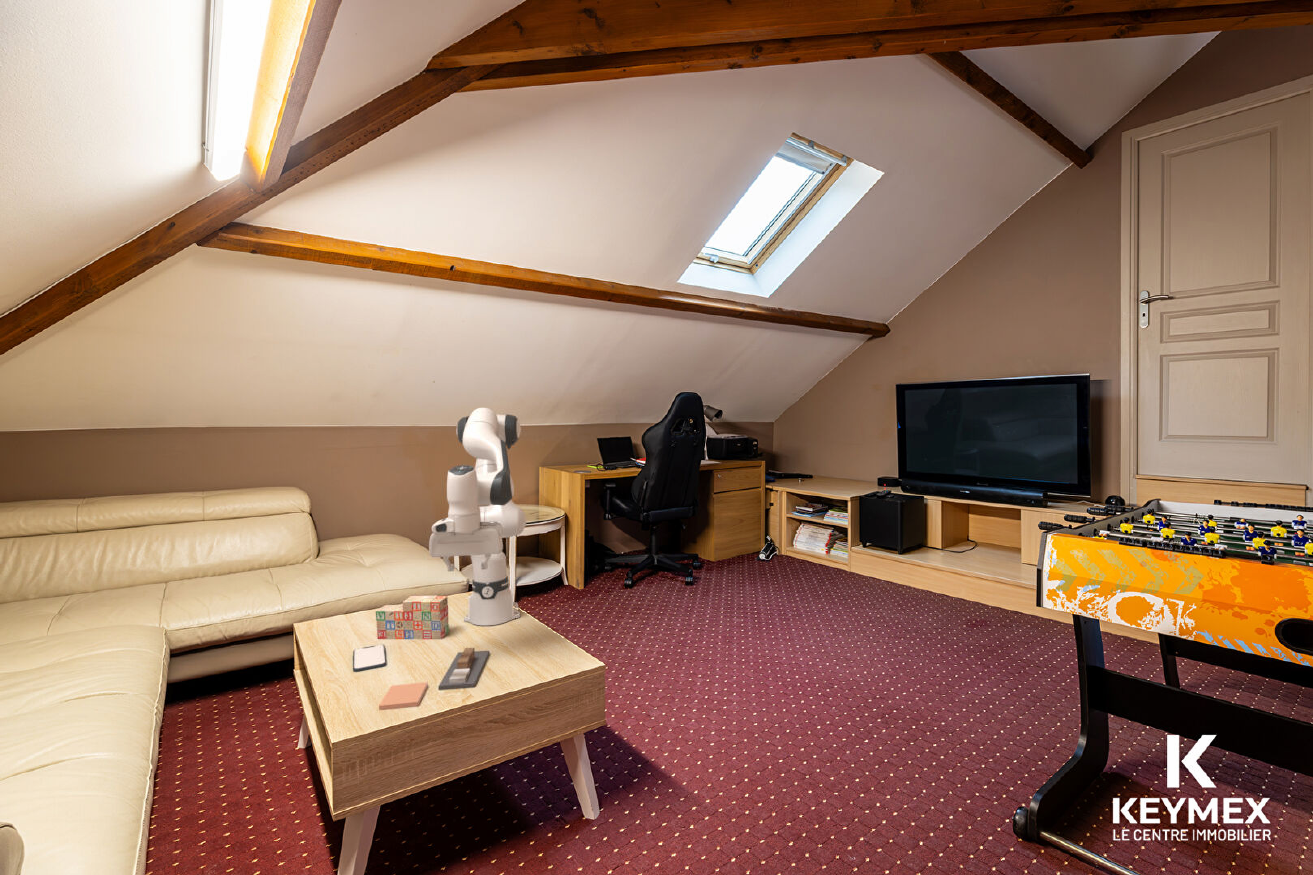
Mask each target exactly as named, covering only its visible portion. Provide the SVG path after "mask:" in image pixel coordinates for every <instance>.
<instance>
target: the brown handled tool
mask: <svg viewBox="0 0 1313 875" xmlns="http://www.w3.org/2000/svg"><path fill="white" fill-rule="evenodd" d="M475 651H476V650H475V647H466V648H464V649H463V651H462V652H463V653H462V655H461V656H460V658H459V660H458V662H457V669H455V670H454V672H453V673H452V675H451V677H450V679H449V684H451V683H465V682H466V680H467V678H468V676H469V674H470V667H471V665H472V663H473V661H474V659H475Z"/></svg>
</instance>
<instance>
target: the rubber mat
mask: <svg viewBox="0 0 1313 875" xmlns="http://www.w3.org/2000/svg"><path fill="white" fill-rule="evenodd" d="M462 653H463V651H462V652H459V651H458V652H457V654H456V655H455V657H454V659H453V661H452V662H451V664H450V666H449V668H448V669H447V671H446V673H445V675H443V677H442V680H441V681H440V683H439V685H438V691H439V690H440V691H441V690H443V691H444V690H453V689H454V690H455V689H467V688H468V689H469V688H475V687H476V684H477V682H478V680H479V678H480V676H481V674H482V671H483V669H484V667H485V665H486V663H487V660H488V658H489V656H490V650H488V649H487V650H478V651H477V650H475V659H474V661H473V663H472V665H471V667H470V674H469V676H468V678H467V680H466V682H465V683H451V684H449V679H450V677H451V675H452V673H453V672H454V670H455V669H457V662H458V660H459V658H460V656H461V655H462Z"/></svg>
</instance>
